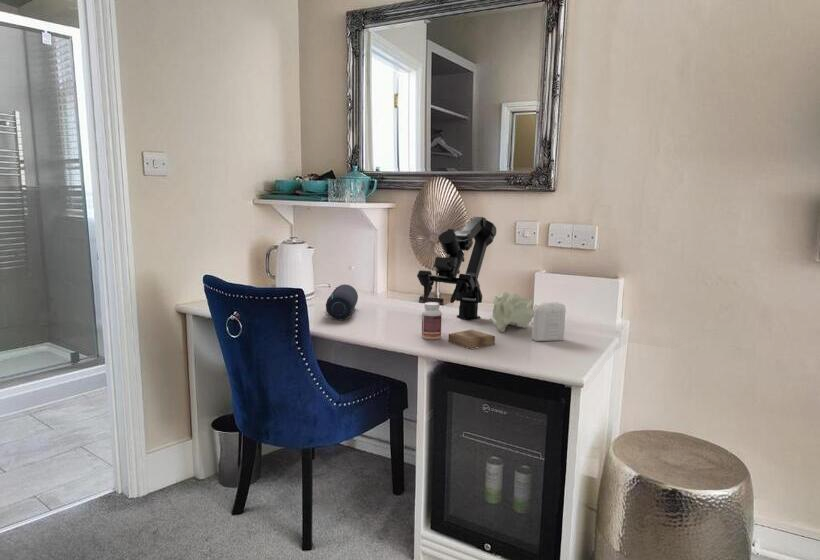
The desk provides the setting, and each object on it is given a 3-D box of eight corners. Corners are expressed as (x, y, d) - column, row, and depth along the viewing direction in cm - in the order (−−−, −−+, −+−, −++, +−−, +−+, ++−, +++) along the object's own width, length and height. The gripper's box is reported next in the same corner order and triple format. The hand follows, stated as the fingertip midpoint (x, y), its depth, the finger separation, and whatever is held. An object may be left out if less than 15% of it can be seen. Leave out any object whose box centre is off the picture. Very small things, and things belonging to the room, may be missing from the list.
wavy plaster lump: (507, 342, 200) (511, 301, 205) (538, 340, 190) (541, 297, 195) (475, 329, 188) (480, 285, 193) (507, 326, 179) (511, 280, 184)
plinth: (471, 337, 180) (471, 328, 179) (494, 344, 172) (494, 335, 172) (448, 341, 174) (448, 333, 173) (471, 349, 166) (471, 340, 165)
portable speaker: (333, 307, 222) (333, 282, 220) (358, 308, 222) (358, 283, 220) (324, 322, 197) (324, 294, 195) (352, 322, 197) (352, 294, 195)
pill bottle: (444, 338, 178) (445, 304, 176) (428, 341, 174) (429, 306, 172) (433, 334, 183) (434, 300, 181) (417, 336, 179) (418, 302, 178)
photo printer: (559, 337, 182) (561, 299, 180) (565, 341, 178) (568, 302, 176) (529, 338, 179) (531, 300, 177) (535, 342, 175) (537, 303, 173)
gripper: (420, 246, 187) (404, 283, 179) (473, 249, 179) (458, 288, 171) (429, 267, 195) (414, 303, 187) (480, 271, 187) (467, 309, 179)
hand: (437, 300), depth 181 cm, fingers open, 9 cm apart
